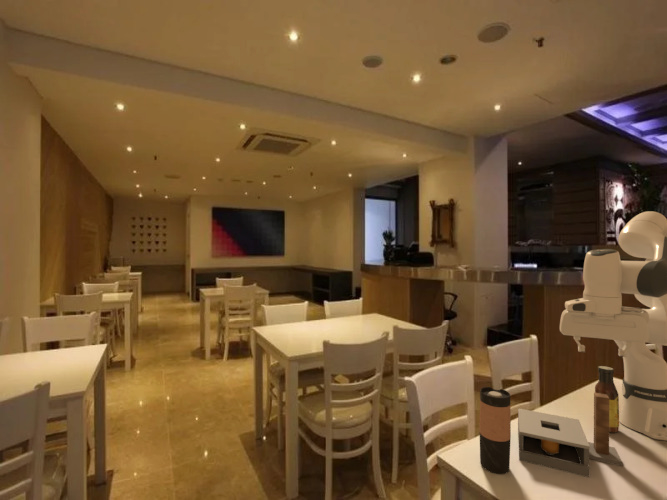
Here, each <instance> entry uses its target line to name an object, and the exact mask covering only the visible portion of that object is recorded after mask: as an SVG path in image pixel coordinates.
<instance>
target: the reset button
mask: <svg viewBox="0 0 667 500" xmlns="http://www.w3.org/2000/svg"><path fill="white" fill-rule="evenodd" d="M540 443H541V444H540V446H541V449H542V450H543V451H545V453H546V452H549V453H554V454H559V453H560V444H559V443H557V442H552V441H548V440H543V439H541V440H540Z"/></svg>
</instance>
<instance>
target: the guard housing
mask: <svg viewBox="0 0 667 500" xmlns="http://www.w3.org/2000/svg"><path fill="white" fill-rule="evenodd" d="M517 414H518V415H517V436H518V439H517V440H518V441H517V443H518V461H521V462H525V463H529V464H533V465H537V466H541V467H546V468H549V469H554V470H558V471H562V472H566V473H570V474H573V475H578V476H582V477H586V478H590V473H591V471H590V465H589V464H590V459H589V450H590V446H589V444H588V442H589V441H588V439H587V437H586V433H585V432H584V429H583V426H582V423H581V421H580V419H577V418H572V417H568V416H566V417H565V416H562V415H556V414H551V413H545V412H541V411H540V412H539V411H536V410H530V409H524V408H518V411H517ZM524 437H527V438H531V439H537V440H540V441H541V439H543V440H548V441H552V442H557V443H559V445H564V446H568V447H571V448H572V447H573V448H575V450H576V454H577V457H578V459H579V462H575V461H570V460H568V459H567V460H565V459H562V458H558V457H553V456H554V455H555V453H549V452H546V451H545V453H546V454H547V455H546V454H545V455H544V454H540V453H537V452H531V451H527V450H524Z"/></svg>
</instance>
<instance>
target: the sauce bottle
mask: <svg viewBox="0 0 667 500" xmlns="http://www.w3.org/2000/svg"><path fill="white" fill-rule="evenodd" d="M614 371H615V370H614V368H612V367H609V366H606V365H605V366H604V365H598V366H597V372H598V381H597V383H596V384H595V386H594V393H601V394H607V396H608V397H609V433H618V432H619V430H620V429H619V428H620V422H619V414H620V406H619V399H620V398H619V397H620V396H619V392H618V389H617V387H616V385H615V382H614Z"/></svg>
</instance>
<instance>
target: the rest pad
mask: <svg viewBox="0 0 667 500" xmlns="http://www.w3.org/2000/svg"><path fill="white" fill-rule="evenodd" d="M588 444H589V446H590V450H589V460H593V461H599V462H603V463H607V464H612V465H617V466H620V467H623V460H622V458H621V456H620V455H619V453H618V451H617V449H616V447H614V446H610V445H609V455H605V454H601V453H596V452H595V449H594V442H590V441H588Z"/></svg>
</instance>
